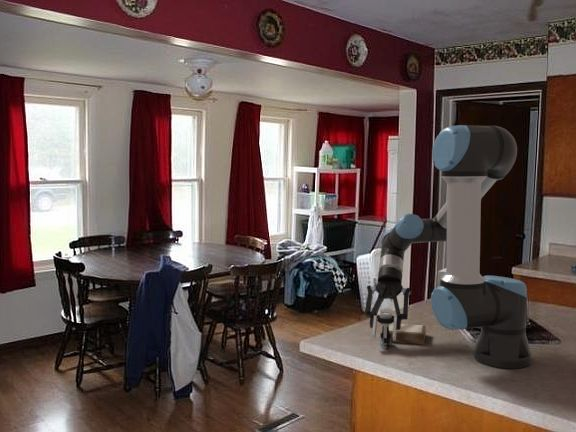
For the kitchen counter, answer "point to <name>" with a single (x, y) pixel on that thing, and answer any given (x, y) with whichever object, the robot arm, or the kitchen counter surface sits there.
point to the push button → (385, 327)
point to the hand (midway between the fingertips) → (383, 337)
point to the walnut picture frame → (409, 333)
